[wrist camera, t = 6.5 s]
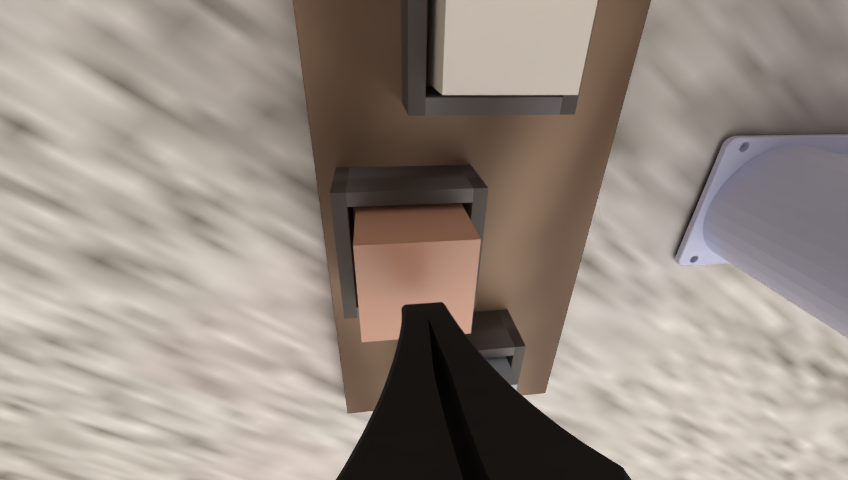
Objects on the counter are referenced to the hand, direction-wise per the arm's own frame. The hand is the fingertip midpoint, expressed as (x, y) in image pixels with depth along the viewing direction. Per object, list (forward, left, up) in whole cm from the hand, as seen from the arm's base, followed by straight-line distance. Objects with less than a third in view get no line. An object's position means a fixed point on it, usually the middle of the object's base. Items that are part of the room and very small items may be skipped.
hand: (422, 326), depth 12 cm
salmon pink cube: (0, 0, -5) cm, 5 cm away
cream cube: (-3, -9, -6) cm, 11 cm away
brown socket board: (-3, 0, -8) cm, 9 cm away
